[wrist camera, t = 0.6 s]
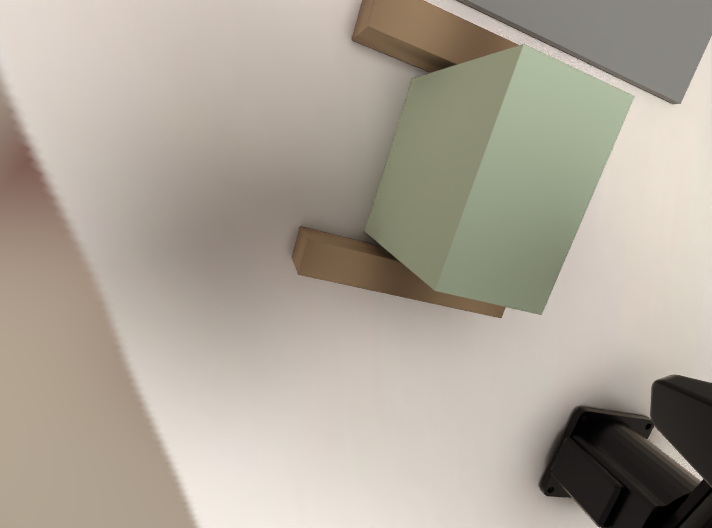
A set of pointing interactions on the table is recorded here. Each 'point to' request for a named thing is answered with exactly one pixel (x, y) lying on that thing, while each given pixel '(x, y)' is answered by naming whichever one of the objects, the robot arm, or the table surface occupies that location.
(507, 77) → the green block
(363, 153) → the table surface
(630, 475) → the robot arm
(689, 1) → the floor mat
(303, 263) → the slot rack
